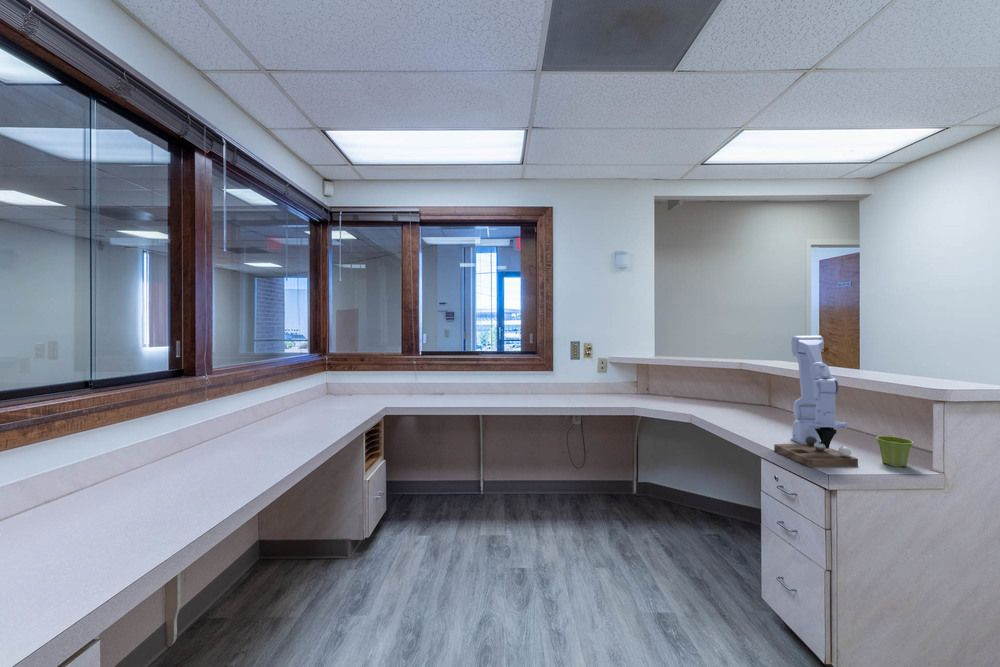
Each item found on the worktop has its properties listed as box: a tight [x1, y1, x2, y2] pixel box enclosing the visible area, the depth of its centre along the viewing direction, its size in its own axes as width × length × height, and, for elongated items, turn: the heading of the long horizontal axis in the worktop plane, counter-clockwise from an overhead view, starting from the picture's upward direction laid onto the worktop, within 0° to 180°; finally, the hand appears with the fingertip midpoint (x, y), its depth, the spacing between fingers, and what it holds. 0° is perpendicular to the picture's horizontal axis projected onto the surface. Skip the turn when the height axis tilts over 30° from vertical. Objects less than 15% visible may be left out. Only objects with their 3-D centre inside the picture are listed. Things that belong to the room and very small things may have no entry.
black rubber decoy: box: [806, 436, 817, 446], centre depth 158 cm, size 4×4×4 cm
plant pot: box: [875, 435, 914, 467], centre depth 143 cm, size 9×9×9 cm
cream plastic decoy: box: [837, 446, 852, 457], centre depth 145 cm, size 4×4×4 cm
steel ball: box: [814, 440, 826, 451], centre depth 151 cm, size 4×4×4 cm
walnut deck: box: [773, 443, 859, 468], centre depth 151 cm, size 18×17×2 cm
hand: (825, 447), depth 151 cm, fingers closed, pressing on steel ball
